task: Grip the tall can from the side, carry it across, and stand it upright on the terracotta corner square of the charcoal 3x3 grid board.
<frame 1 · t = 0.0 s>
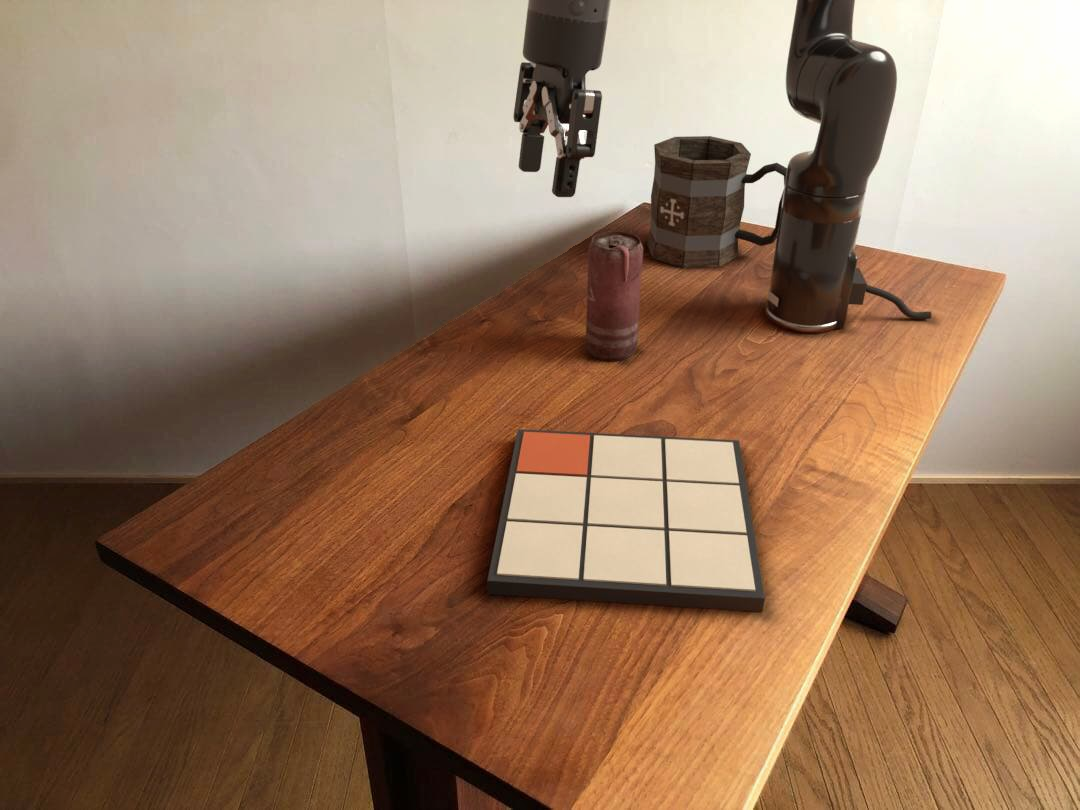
hand: (545, 183, 92), 22 cm above the table, tool pointing down, fingers open, 8 cm apart
board: (625, 516, 82), on the table
mug: (712, 254, 134), on the table
can: (611, 351, 109), on the table
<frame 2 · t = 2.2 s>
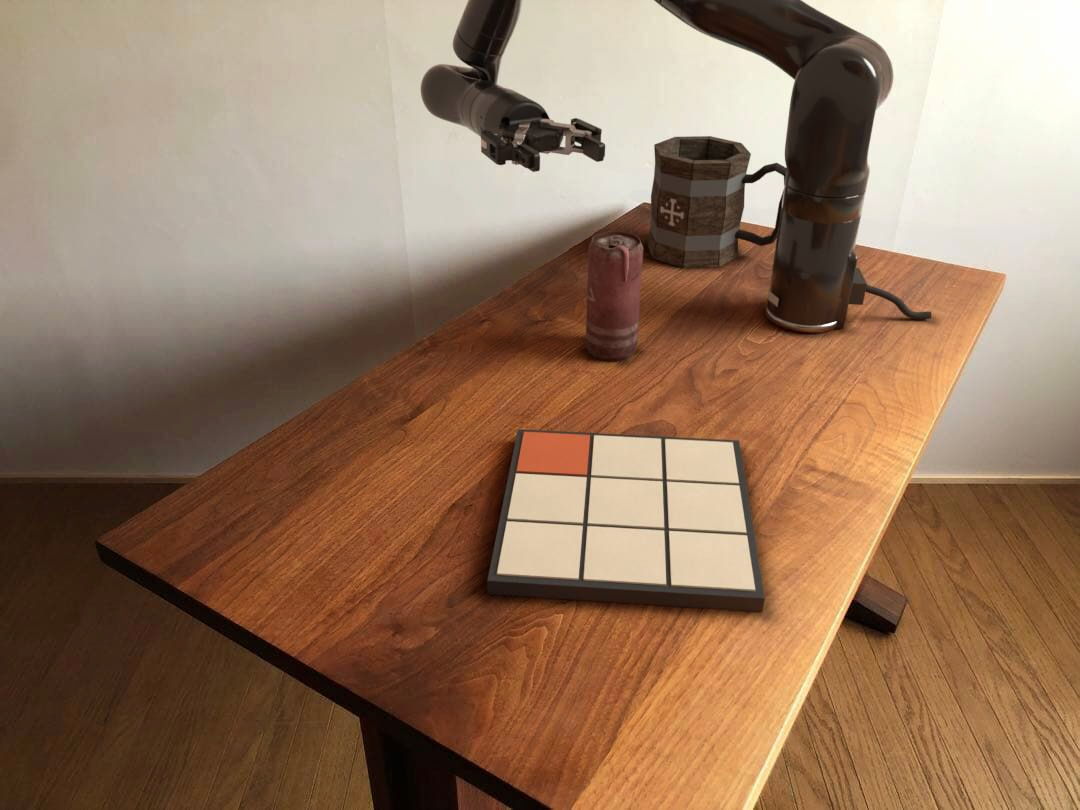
hand: (570, 158, 106), 20 cm above the table, tool horizontal, fingers open, 8 cm apart
nothing on the table moved.
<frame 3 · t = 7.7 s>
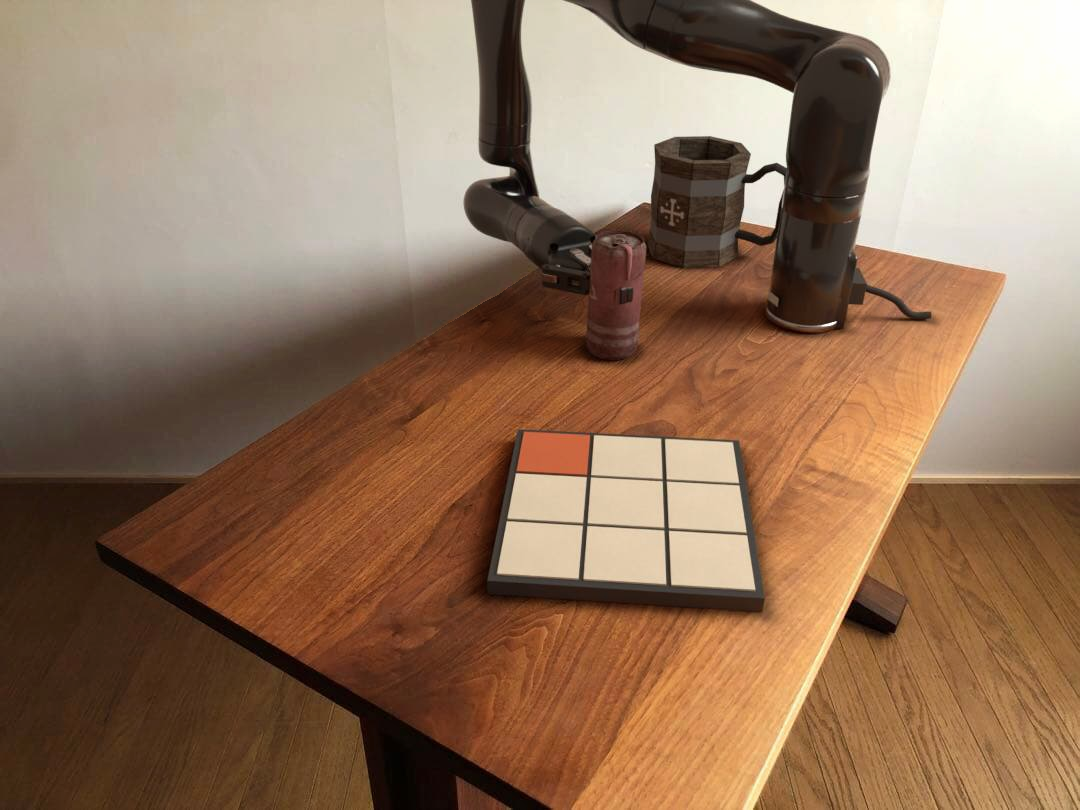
hand: (627, 295, 102), 8 cm above the table, tool horizontal, fingers closed
can: (611, 351, 109), on the table, touching gripper
everything else where it was.
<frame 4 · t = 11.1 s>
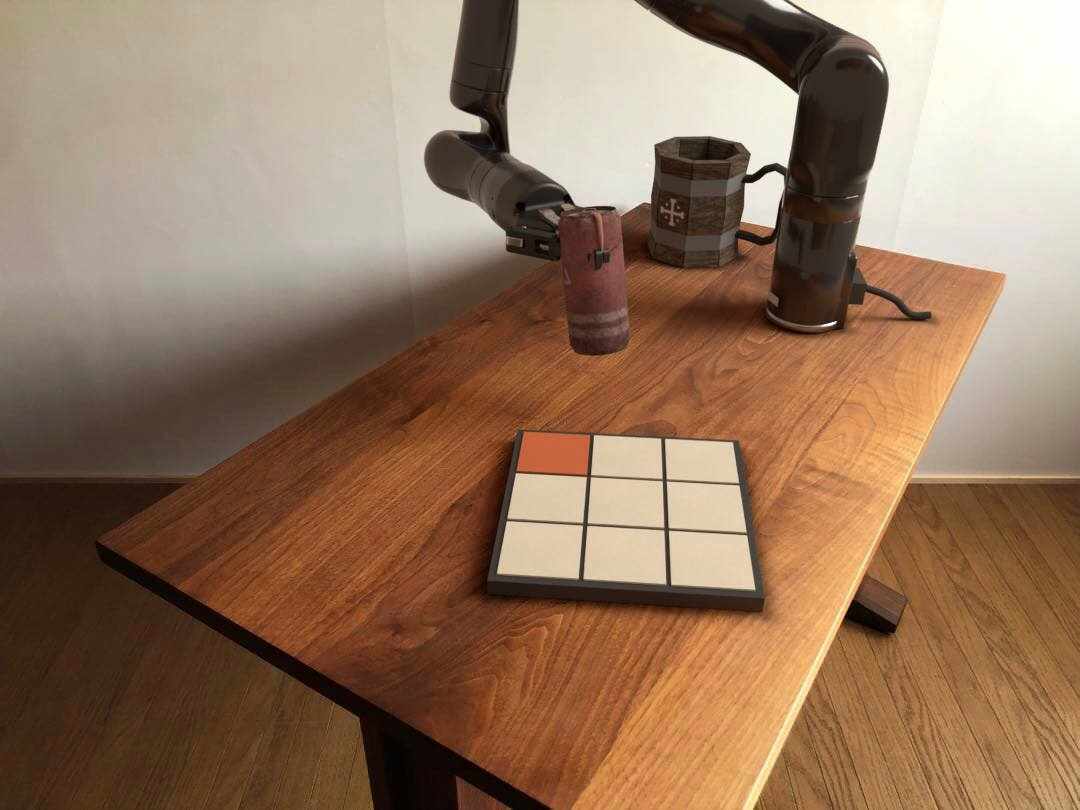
hand: (603, 261, 87), 18 cm above the table, tool horizontal, fingers closed
can: (601, 349, 93), point 8 cm above the table, touching gripper, hand
everything else where it was.
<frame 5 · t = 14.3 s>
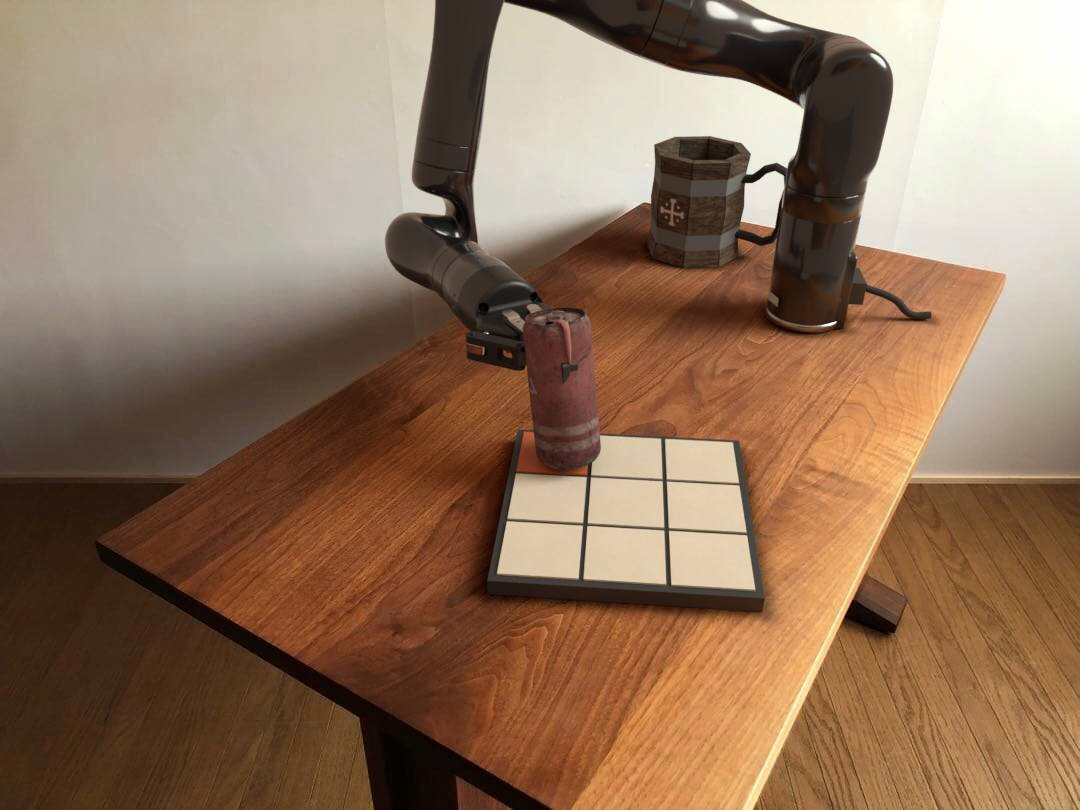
hand: (570, 374, 80), 12 cm above the table, tool horizontal, fingers closed
can: (569, 459, 86), point 2 cm above the table, touching board, gripper
everything else where it was.
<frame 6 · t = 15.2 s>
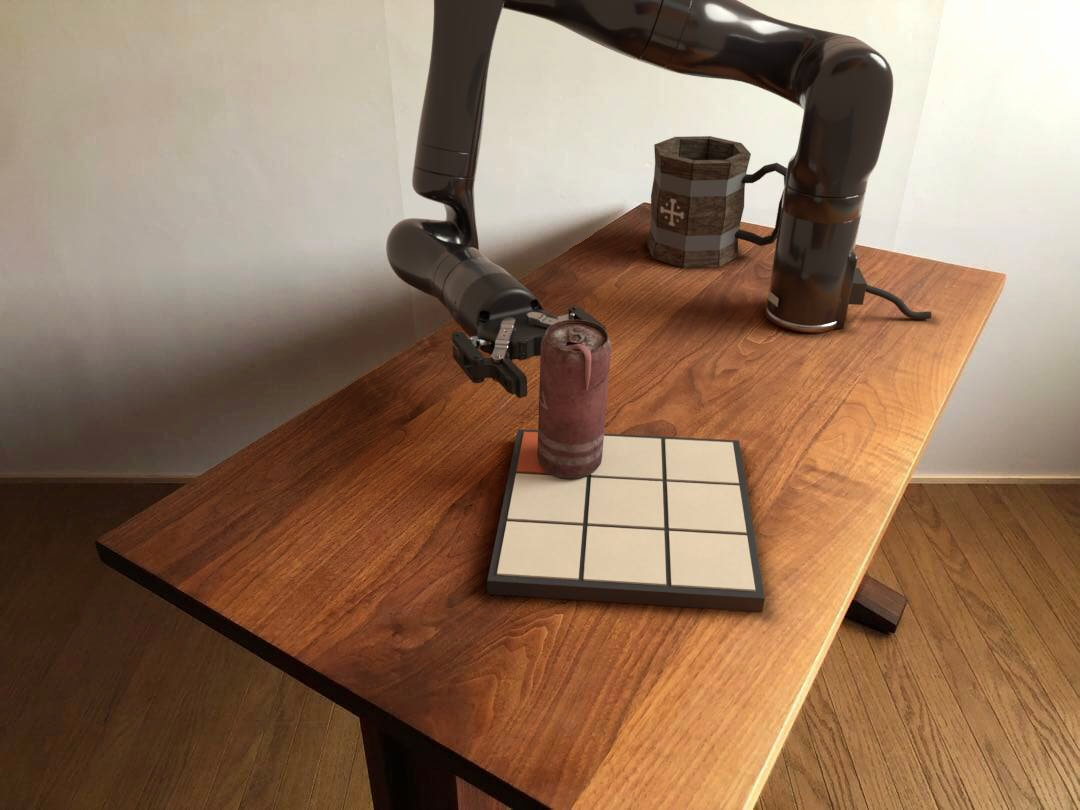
hand: (565, 377, 81), 11 cm above the table, tool horizontal, fingers open, 8 cm apart
can: (570, 463, 86), point 2 cm above the table, touching board
everything else where it was.
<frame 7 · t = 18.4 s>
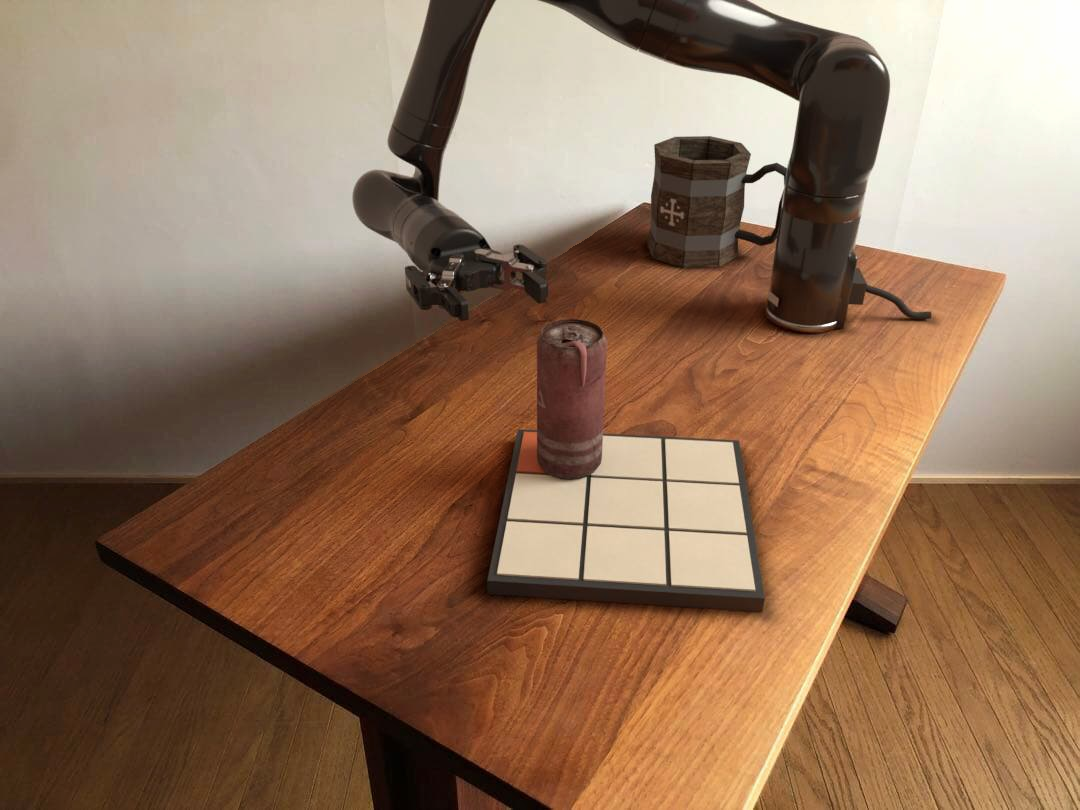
hand: (505, 303, 90), 13 cm above the table, tool horizontal, fingers open, 8 cm apart
nothing on the table moved.
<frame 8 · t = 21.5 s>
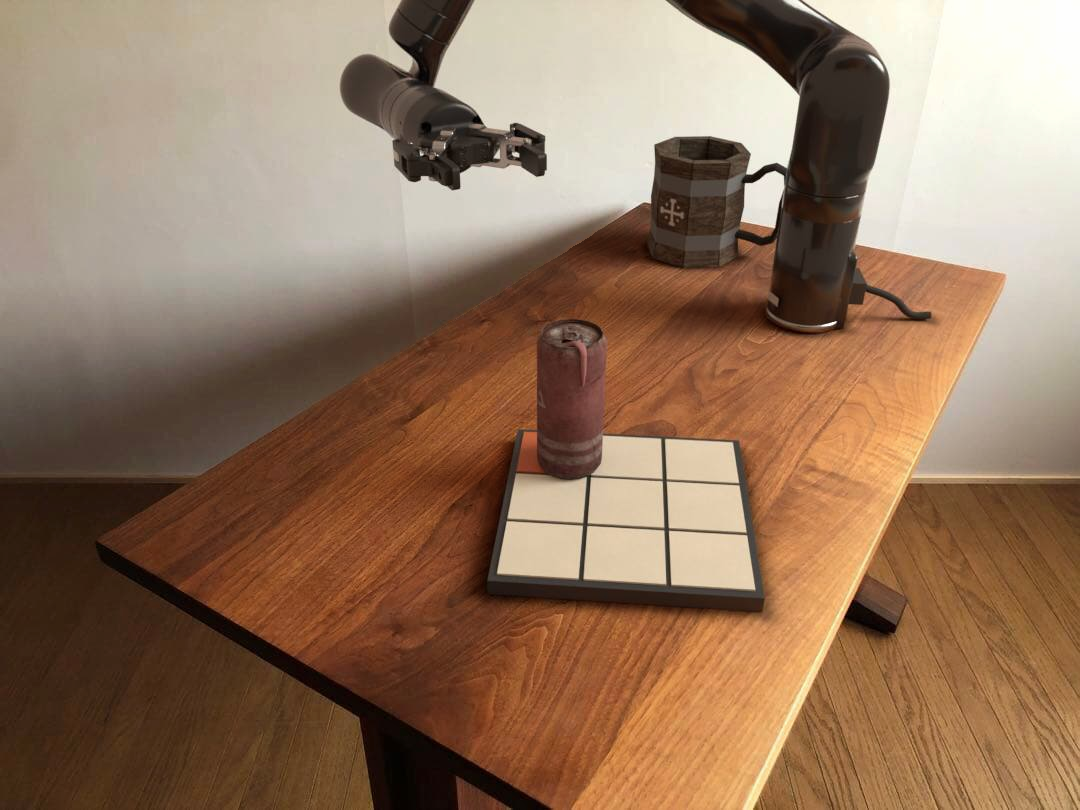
hand: (500, 172, 83), 26 cm above the table, tool horizontal, fingers open, 8 cm apart
nothing on the table moved.
at the end: can 2.3 cm from the target spot on the board, point 1.5 cm above the board's base; can tilted 0°; the gripper is holding nothing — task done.
